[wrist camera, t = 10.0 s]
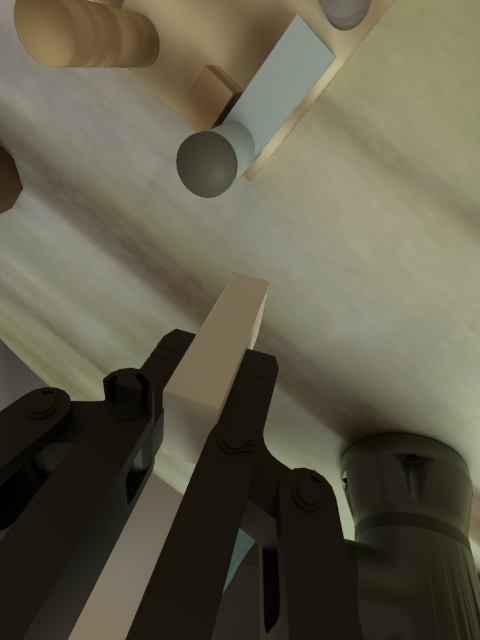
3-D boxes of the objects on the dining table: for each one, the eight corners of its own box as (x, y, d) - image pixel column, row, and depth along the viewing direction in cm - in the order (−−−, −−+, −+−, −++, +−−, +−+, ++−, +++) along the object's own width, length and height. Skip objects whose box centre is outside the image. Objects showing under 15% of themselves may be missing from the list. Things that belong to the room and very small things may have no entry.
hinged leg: (211, 146, 28) (163, 172, 21) (301, 17, 22) (276, -7, 15) (243, 177, 28) (207, 213, 21) (338, 60, 23) (332, 56, 16)
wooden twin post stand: (254, 176, 30) (210, 224, 21) (116, 48, 27) (-3, 39, 18) (396, -3, 22) (427, -54, 13) (220, -214, 19) (96, -474, 10)
